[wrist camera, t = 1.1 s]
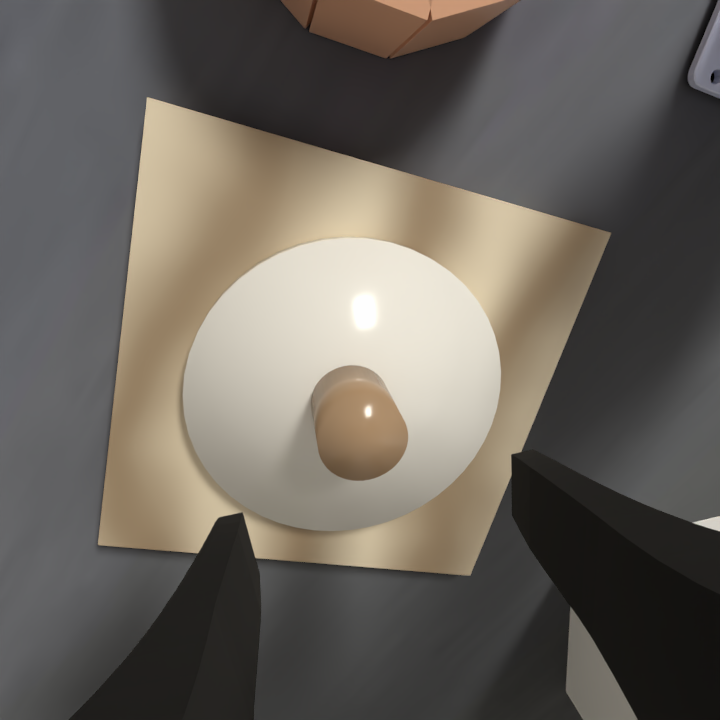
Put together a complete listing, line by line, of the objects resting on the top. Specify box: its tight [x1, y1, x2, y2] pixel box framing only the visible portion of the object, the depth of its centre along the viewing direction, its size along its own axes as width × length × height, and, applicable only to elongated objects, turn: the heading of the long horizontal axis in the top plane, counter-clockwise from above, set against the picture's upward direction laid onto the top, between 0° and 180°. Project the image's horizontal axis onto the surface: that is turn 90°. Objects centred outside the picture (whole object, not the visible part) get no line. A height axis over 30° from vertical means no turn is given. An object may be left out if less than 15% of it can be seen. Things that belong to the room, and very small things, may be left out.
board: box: [98, 97, 611, 576], centre depth 21 cm, size 18×18×1 cm
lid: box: [183, 236, 501, 531], centre depth 19 cm, size 13×13×4 cm
